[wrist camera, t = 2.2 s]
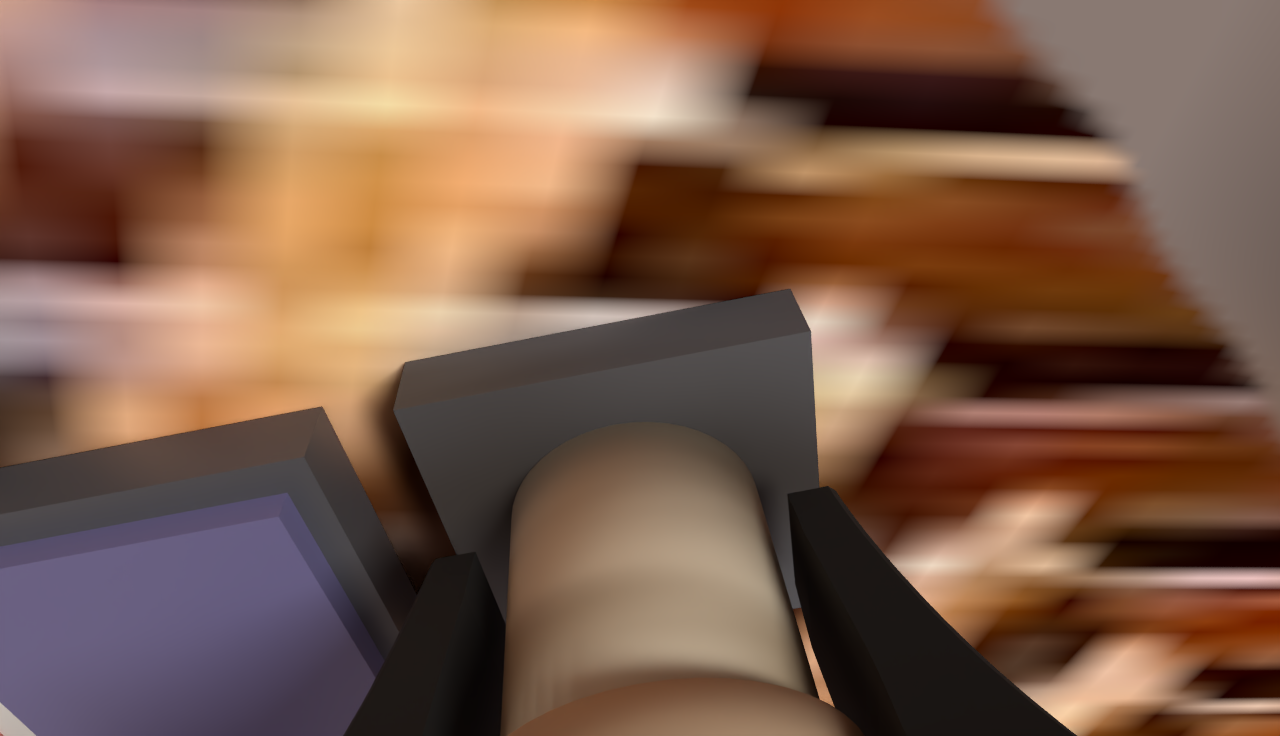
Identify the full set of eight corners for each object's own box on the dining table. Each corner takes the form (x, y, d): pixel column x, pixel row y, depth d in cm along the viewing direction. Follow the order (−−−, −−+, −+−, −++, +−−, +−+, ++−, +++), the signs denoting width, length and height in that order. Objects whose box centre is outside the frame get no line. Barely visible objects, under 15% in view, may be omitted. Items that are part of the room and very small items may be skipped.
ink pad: (480, 721, 18) (474, 799, 17) (172, 777, 18) (141, 858, 17) (322, 406, 13) (295, 479, 12) (-106, 488, 13) (-184, 570, 12)
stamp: (808, 553, 16) (952, 977, 10) (506, 608, 16) (482, 1056, 10) (790, 289, 13) (993, 706, 7) (405, 362, 13) (287, 832, 7)
